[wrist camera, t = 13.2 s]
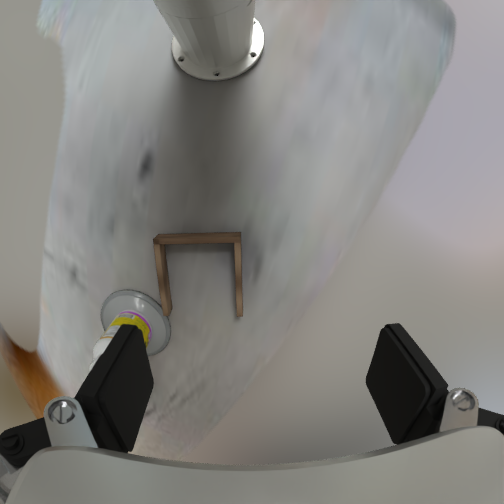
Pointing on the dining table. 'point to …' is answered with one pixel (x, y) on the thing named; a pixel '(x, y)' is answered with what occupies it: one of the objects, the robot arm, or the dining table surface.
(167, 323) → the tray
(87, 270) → the dining table surface
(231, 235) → the frame
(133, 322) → the supplement bottle
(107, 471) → the robot arm
